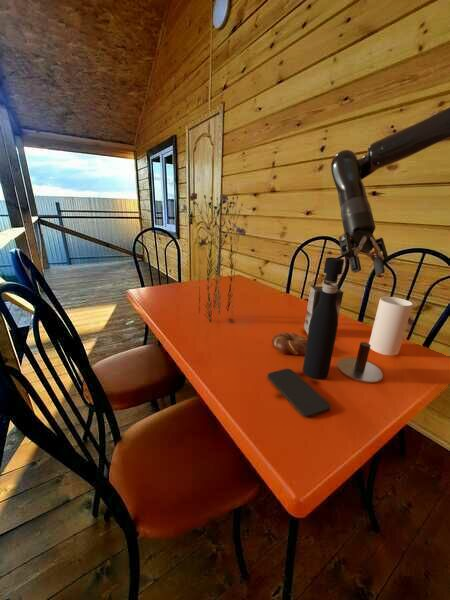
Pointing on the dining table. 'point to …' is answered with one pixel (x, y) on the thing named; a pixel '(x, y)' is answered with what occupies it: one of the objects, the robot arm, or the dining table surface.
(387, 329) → the cup
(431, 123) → the robot arm
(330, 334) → the dark water bottle
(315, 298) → the coffee box
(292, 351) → the pretzel
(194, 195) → the wildflower
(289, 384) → the phone
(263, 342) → the dining table surface
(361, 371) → the lid
